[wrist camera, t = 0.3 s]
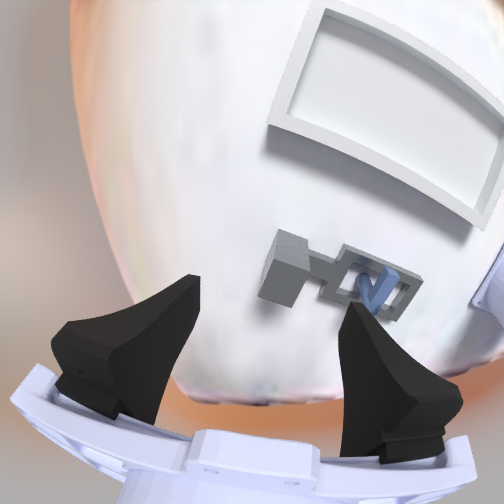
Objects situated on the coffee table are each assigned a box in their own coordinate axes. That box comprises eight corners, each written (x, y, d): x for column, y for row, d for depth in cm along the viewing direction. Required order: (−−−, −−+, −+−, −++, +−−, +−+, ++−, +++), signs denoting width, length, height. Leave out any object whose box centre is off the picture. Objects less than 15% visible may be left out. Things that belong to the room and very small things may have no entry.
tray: (508, 122, 13) (522, 124, 11) (471, 223, 18) (483, 231, 16) (313, 4, 13) (314, -7, 11) (268, 123, 18) (265, 122, 16)
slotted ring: (419, 275, 21) (441, 309, 16) (393, 315, 23) (407, 352, 19) (282, 219, 21) (278, 247, 16) (262, 269, 23) (253, 305, 18)
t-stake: (385, 251, 21) (401, 278, 17) (362, 290, 22) (372, 321, 19) (373, 246, 21) (387, 272, 17) (351, 286, 22) (359, 317, 19)
